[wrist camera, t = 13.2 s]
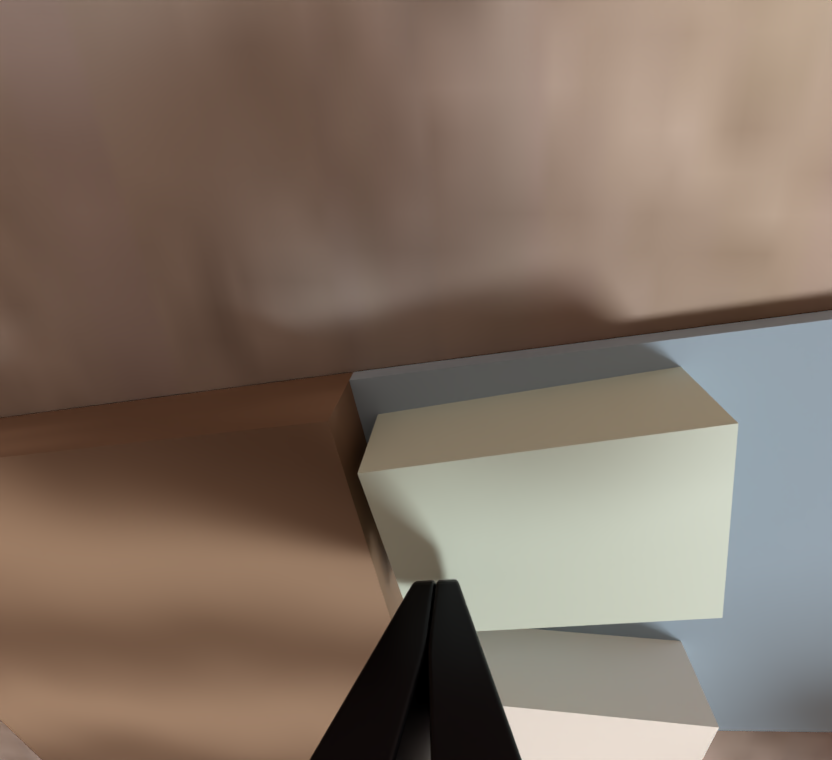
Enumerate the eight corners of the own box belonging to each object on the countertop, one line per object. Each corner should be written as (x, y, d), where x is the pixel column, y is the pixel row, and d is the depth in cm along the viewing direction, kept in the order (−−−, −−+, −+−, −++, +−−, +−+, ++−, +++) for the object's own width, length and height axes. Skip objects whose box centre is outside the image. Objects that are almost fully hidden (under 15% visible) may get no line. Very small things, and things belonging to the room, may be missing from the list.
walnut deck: (446, 712, 15) (444, 787, 13) (96, 709, 18) (54, 771, 16) (353, 372, 10) (327, 420, 8) (-140, 436, 12) (-245, 484, 10)
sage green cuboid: (677, 537, 10) (722, 617, 8) (424, 559, 11) (416, 634, 10) (680, 366, 8) (738, 423, 7) (377, 414, 10) (357, 473, 8)
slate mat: (931, 717, 13) (945, 734, 12) (446, 712, 15) (446, 726, 15) (1181, 264, 7) (1218, 270, 7) (353, 372, 10) (349, 380, 9)
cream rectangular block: (645, 730, 14) (672, 816, 12) (451, 710, 14) (448, 789, 13) (681, 640, 12) (718, 727, 10) (453, 622, 12) (451, 700, 11)
